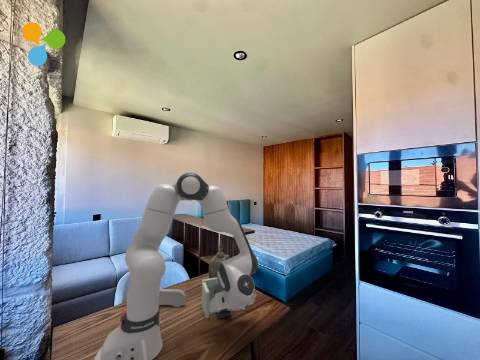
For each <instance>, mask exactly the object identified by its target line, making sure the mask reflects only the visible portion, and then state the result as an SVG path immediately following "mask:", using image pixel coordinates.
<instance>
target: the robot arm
mask: <svg viewBox="0 0 480 360" xmlns="http://www.w3.org/2000/svg"><path fill="white" fill-rule="evenodd" d="M181 201H187V202H189V201H190V202H191V201H197V202H198V204H199V205H200V208H201V211H202V216H203V219H204V223H205V225H206V226H207V228H208V229H210V230H211V231H213V232H217V233H229V234H231V235H232V236H233V238H234V239H235V242H236V244H237V245H236V246H237V248H238V249H239V254H237V255H235V256H232V257H230V258H229V259H227V260H225V261H223V262H221V263H219V265H218V268H217V279H218V282H219V284H220V286H221V287H222V288H223V289H224V290H225V291H222V292H219V293H216V294H215V297H214V298H213V299H212V300H211V301H210V303H209V314H214V313H215V314H216V312H220V311H226V310H229V311H231V312H232V311H233V312H237V311H238V312H239V311H241V310H242V307H243V306H250V305H253V304H254V302H255V298H257V293H254V292H255V289H256V288H255V287H256V286H255V281H254V279H253V278H252V276H251V275H254V274H256V273H257V270H258V267H259V261H258V258H257V256H256V254H255V253H254V251H253V249H252V247H251V245H250V243H249V240H248V238H247V235H246V233H245V230H244V229H243V226H242V225H241V222H240V221H239V220H238V218H237V217H234V216H233V215H232V214H231V212H230V209H229V206H228V202H227V199H226V196H225V195H224V192H223V190H222V188H221V187H219V186H218V185H214V184H213V185H209V184H208V183H207V182H206V181H205V180H204V179H203V178H202V177H201V176H200V175H199V174H197V173H194V172H186V173H183V174H182V175H180V176H179V177H178V178H177V180H176V183H174V184H169V183H159V184H157V185H156V186H155V188H154V190H153V191H152V192H151V195H150V196H149V199H148V200H147V203H146V207H145V208H144V212H143V215H142V218H141V221H140V223H139V226H138V229H137V230H136V233H135V235H134V236H133V238H132V241H131V242H130V244H129V246H128V247H127V249H126V251H125V255H124V262H125V265H126V266H127V269H128V273H129V286H128V292H127V293H126V309H124V310H122V311H121V312H120V319H119V325H118V326H117V327H116V328H115V329H113V330H112V331H111V332H109V333H108V335H107V336H106V338H105V340H104V342H103V344H102V346H101V348H99V350H98V351H97V353H96V355H95V357H94V360H154V359H155V358H156V357H157V356H158V355H159V353H160V352H161V350H162V349H163V338H162V336H161V330H160V322H161V309H160V305H159V289H161V288H160V287H161V283H162V282H161V281H162V279H163V277H164V275H165V272H166V262H165V259H164V257H163V255H162V254H161V253H160V251H159V248H160V247H161V244H162V242H163V240H164V239H165V237H166V236H168V234H169V232H170V229H171V225H172V224H173V223H172V222H173V220H174V217H175V212H176V209H177V207H178V205H179V203H180V202H181Z"/></svg>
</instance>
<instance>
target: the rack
mask: <svg viewBox="0 0 480 360" xmlns="http://www.w3.org/2000/svg"><path fill="white" fill-rule="evenodd" d="M214 286H220V284H219V282H218V279H217V278H210V279H209V278H205V279H201V308H202V311H203V313H204V318H205V319H209V318H210V310H209V303H210V301H211V300H212V299H213V298H214ZM241 310H242V311H245V310H246V306H243V307H242V309H241Z"/></svg>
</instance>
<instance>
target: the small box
mask: <svg viewBox="0 0 480 360" xmlns="http://www.w3.org/2000/svg"><path fill="white" fill-rule="evenodd" d="M222 291H225V290H224V289H223V288H222V287H221V286H214V297H215V294H216V293H219V292H222ZM215 314H216V316H217V319H218V320H219V319H221V320H222V319H225V318H228V317H231V316H232V311H229V310H226V311H220V312H215Z"/></svg>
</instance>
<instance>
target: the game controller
mask: <svg viewBox="0 0 480 360" xmlns="http://www.w3.org/2000/svg"><path fill="white" fill-rule="evenodd" d="M186 299H187V296H186V293H185V292H184V291H183V290H181V289H177V288H173V289H171V288H169V289H168V288H159V306H165V305H166V306H173V307H174V308H179V307H181V306H183V305H184V304H185V302H186Z"/></svg>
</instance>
